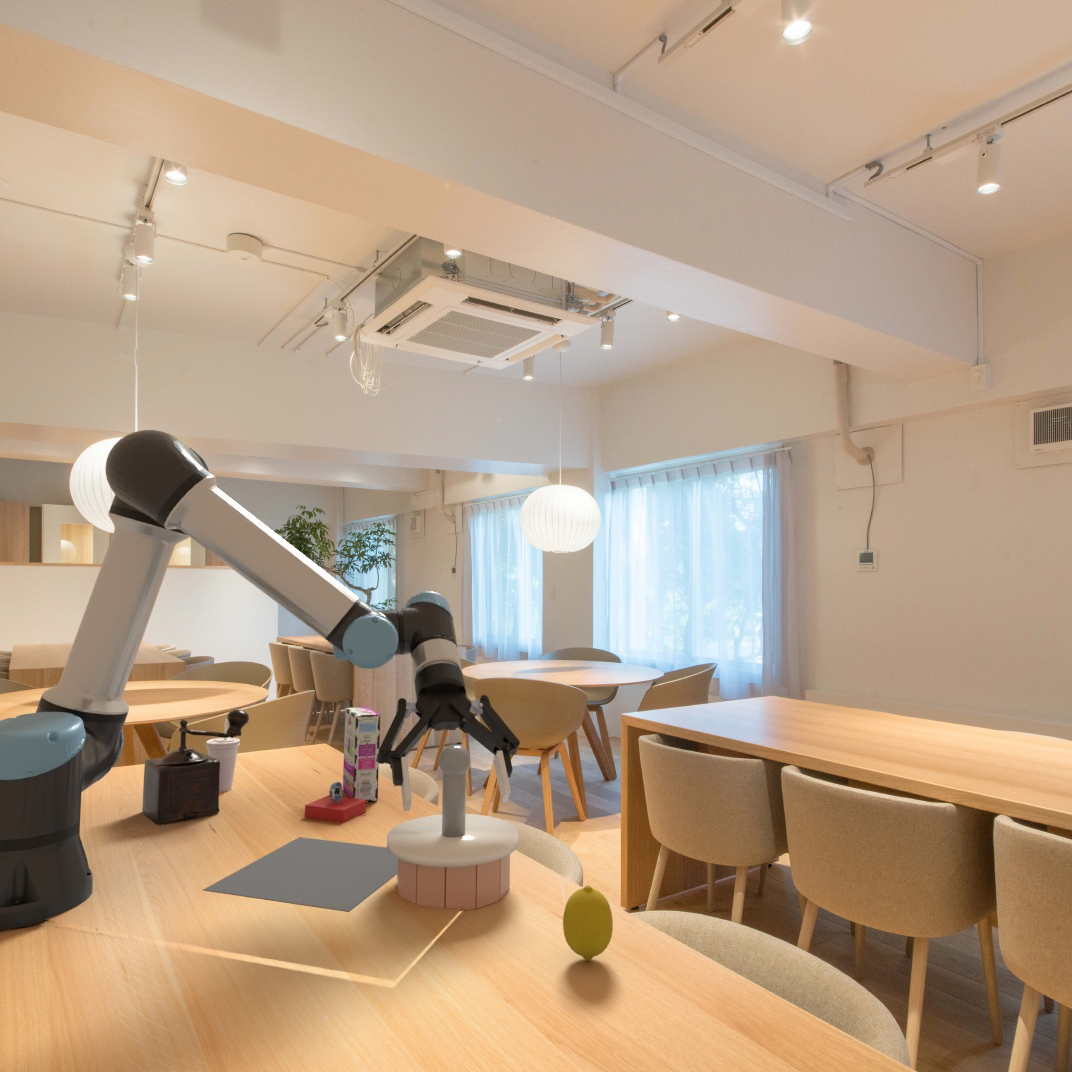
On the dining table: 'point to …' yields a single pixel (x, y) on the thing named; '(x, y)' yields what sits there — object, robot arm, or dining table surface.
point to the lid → (453, 826)
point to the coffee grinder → (186, 778)
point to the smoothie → (224, 758)
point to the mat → (314, 874)
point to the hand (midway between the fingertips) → (458, 801)
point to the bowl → (454, 884)
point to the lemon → (587, 922)
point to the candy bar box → (361, 753)
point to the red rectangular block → (335, 806)
